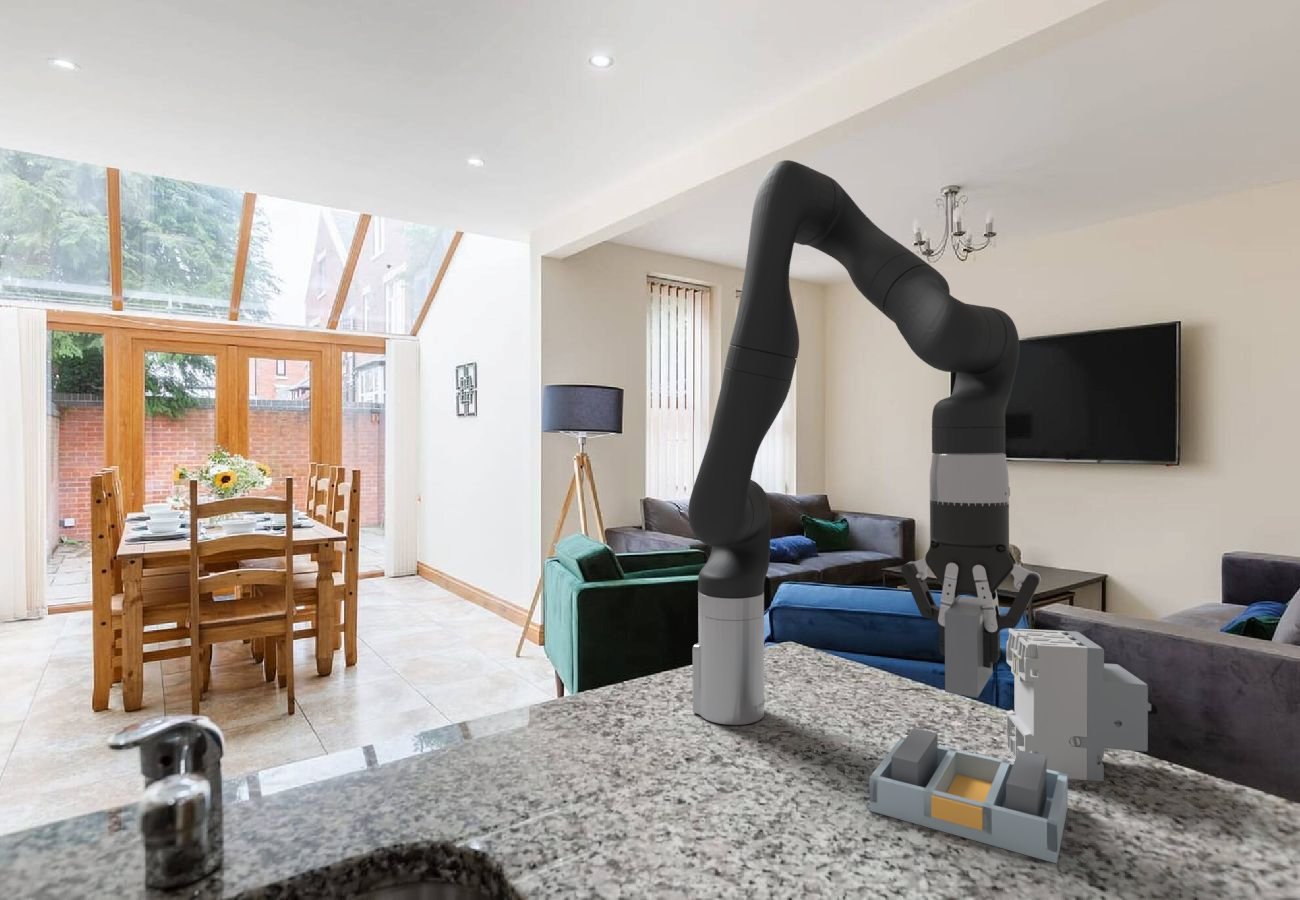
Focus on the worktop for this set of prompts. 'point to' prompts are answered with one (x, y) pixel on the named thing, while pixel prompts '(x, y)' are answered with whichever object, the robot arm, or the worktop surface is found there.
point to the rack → (973, 795)
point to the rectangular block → (965, 648)
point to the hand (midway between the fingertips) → (969, 662)
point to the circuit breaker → (1072, 702)
